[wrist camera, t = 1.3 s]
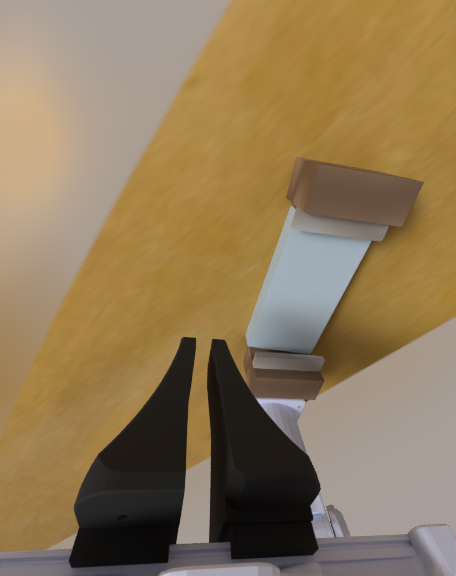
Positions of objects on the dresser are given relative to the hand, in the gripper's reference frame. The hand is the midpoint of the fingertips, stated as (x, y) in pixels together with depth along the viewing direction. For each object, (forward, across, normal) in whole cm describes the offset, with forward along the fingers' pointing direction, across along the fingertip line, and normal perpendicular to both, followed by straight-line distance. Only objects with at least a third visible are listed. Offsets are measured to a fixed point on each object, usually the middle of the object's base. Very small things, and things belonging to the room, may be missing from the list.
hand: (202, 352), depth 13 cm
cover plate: (+9, -8, 0) cm, 12 cm away
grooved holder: (+8, -8, 0) cm, 12 cm away
